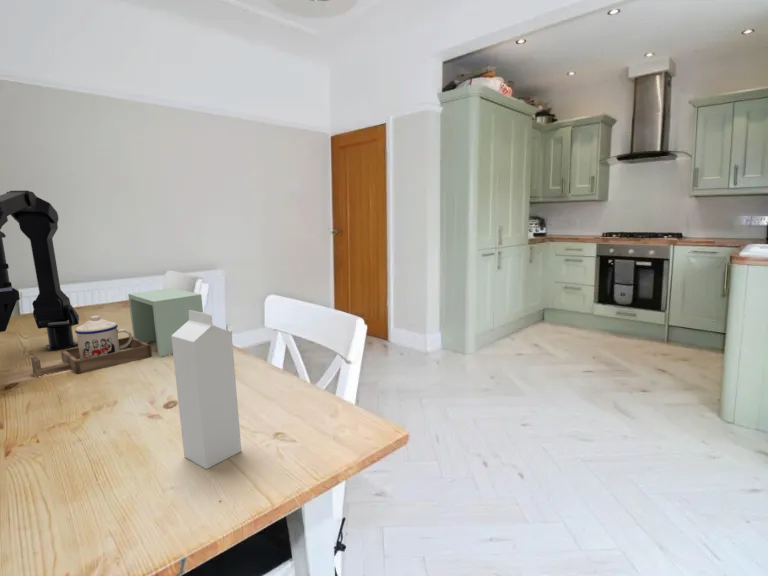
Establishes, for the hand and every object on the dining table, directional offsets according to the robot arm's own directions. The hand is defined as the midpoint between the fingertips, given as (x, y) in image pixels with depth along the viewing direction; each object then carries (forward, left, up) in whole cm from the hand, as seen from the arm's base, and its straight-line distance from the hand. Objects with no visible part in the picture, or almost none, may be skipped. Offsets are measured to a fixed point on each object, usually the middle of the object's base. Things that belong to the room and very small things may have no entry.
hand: (0, 329), depth 97 cm
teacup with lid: (0, +20, -12) cm, 23 cm away
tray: (0, +16, -12) cm, 20 cm away
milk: (+66, +16, -12) cm, 69 cm away
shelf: (0, +35, -12) cm, 37 cm away
